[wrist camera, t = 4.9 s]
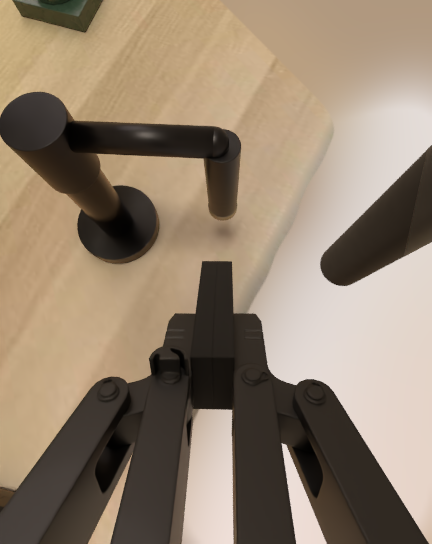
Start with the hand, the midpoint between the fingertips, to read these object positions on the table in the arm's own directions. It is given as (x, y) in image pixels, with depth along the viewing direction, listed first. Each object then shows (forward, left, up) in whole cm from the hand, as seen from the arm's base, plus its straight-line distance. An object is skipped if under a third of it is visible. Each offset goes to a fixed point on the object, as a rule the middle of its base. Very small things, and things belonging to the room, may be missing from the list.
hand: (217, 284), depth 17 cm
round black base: (+15, -6, -19) cm, 25 cm away
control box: (+36, -35, -19) cm, 54 cm away
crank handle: (+9, -8, -12) cm, 17 cm away
